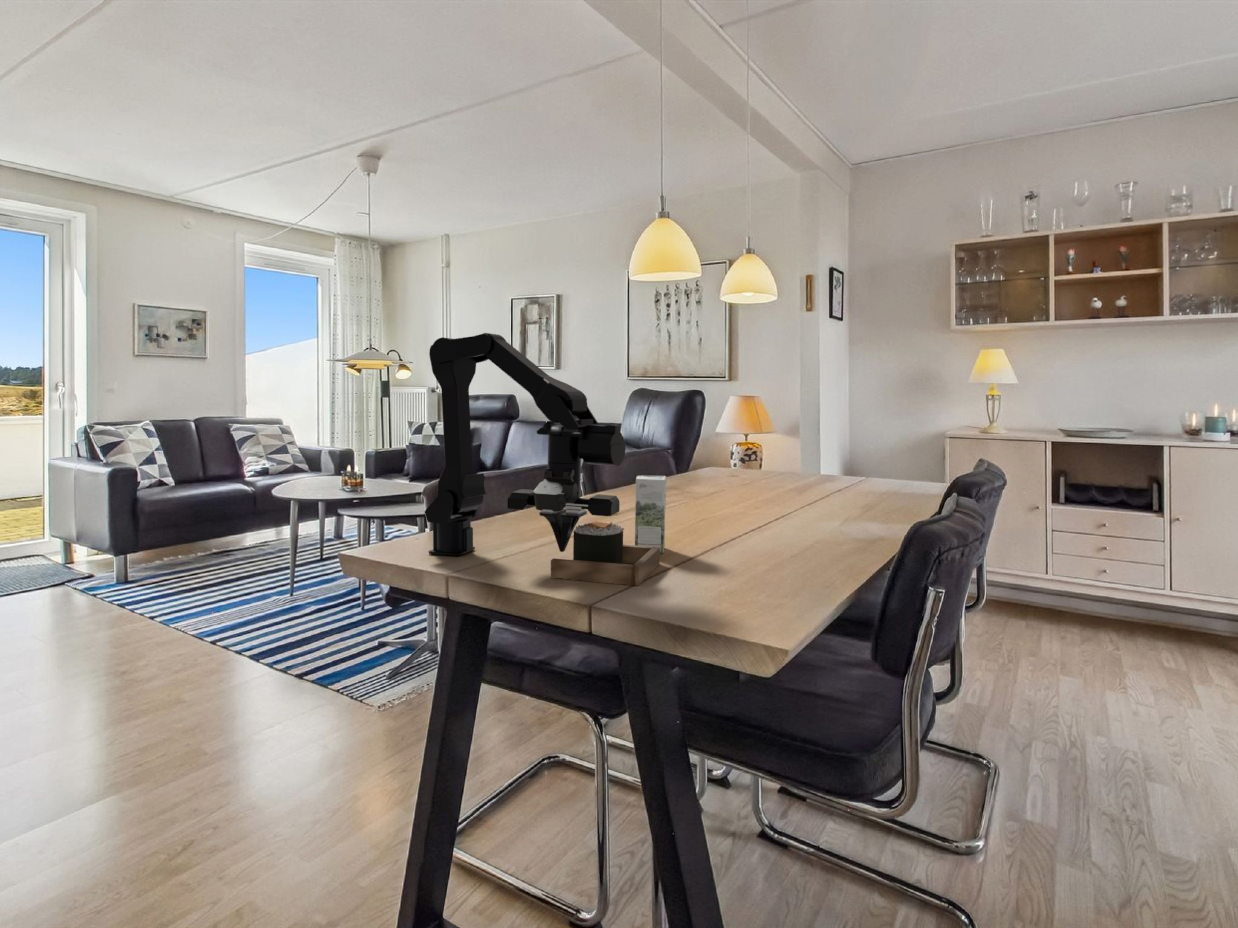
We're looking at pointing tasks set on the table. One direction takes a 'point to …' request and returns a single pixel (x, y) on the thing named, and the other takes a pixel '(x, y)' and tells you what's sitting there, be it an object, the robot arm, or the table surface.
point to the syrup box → (650, 511)
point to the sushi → (598, 543)
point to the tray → (611, 567)
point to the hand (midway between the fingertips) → (562, 551)
